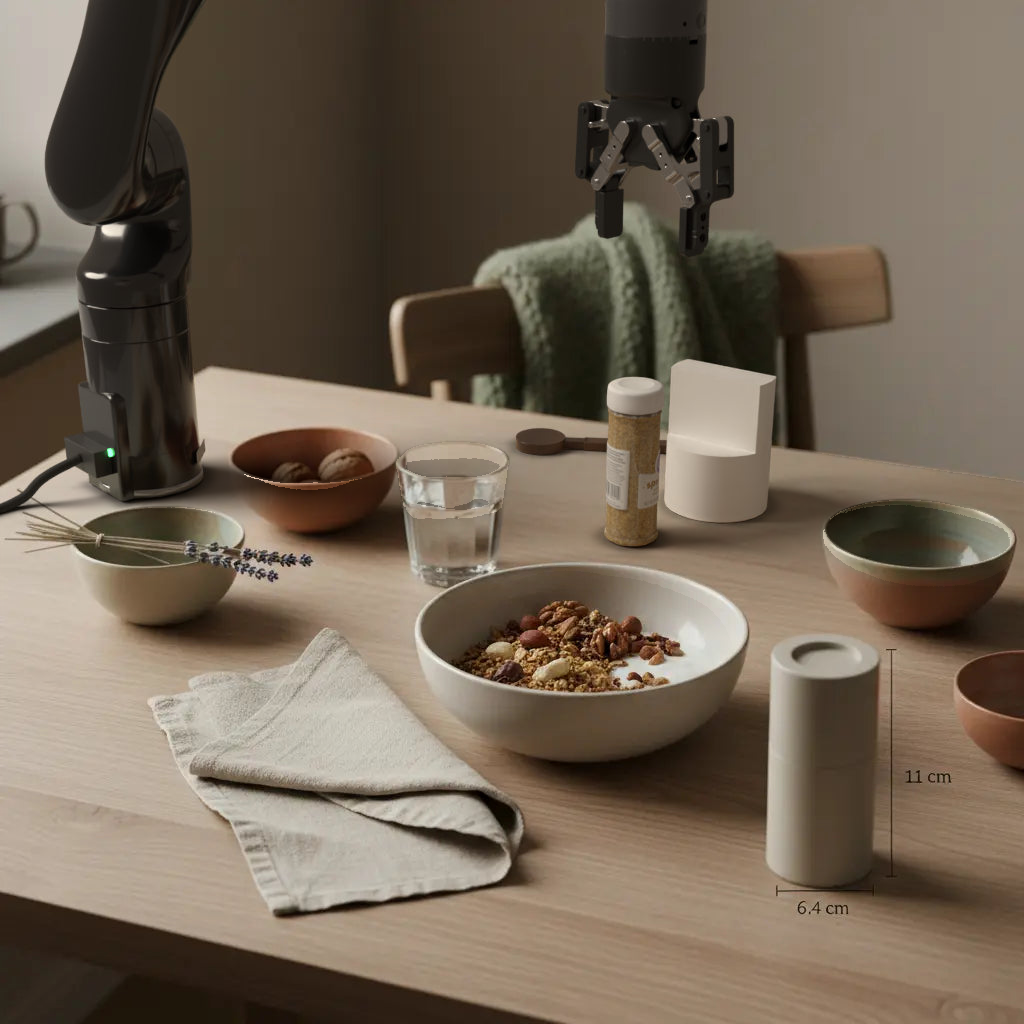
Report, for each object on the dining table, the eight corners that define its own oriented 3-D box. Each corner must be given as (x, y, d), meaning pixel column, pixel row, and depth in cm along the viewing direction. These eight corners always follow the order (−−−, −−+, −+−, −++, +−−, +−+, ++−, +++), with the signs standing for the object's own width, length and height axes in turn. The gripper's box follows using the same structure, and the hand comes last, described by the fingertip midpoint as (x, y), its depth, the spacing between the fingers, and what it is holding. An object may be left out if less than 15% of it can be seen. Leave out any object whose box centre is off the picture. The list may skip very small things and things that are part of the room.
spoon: (698, 442, 147) (698, 433, 146) (699, 460, 142) (700, 450, 142) (517, 436, 148) (517, 427, 148) (513, 454, 144) (513, 444, 143)
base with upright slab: (645, 506, 132) (650, 375, 127) (695, 475, 139) (701, 350, 134) (737, 530, 127) (746, 395, 122) (784, 497, 134) (794, 368, 129)
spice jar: (663, 547, 124) (670, 391, 119) (608, 549, 124) (613, 393, 118) (651, 524, 128) (657, 373, 123) (598, 527, 128) (602, 375, 122)
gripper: (551, 25, 114) (551, 239, 120) (695, 38, 104) (687, 269, 110) (620, 19, 118) (617, 224, 125) (764, 30, 109) (752, 253, 115)
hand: (649, 245), depth 117 cm, fingers open, 8 cm apart
